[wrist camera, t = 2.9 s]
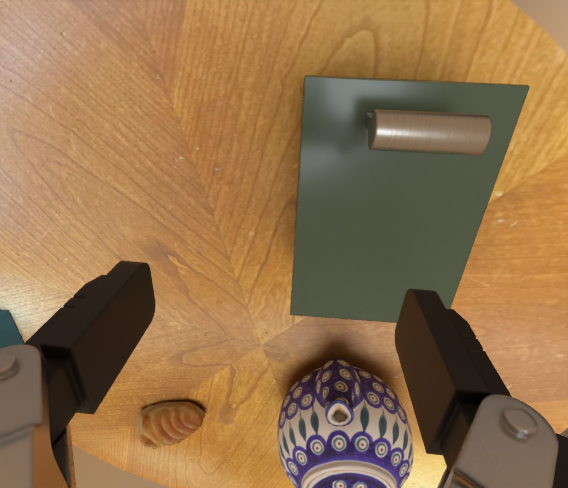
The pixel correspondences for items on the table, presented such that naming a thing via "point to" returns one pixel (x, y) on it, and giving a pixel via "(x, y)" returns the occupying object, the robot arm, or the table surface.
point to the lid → (393, 189)
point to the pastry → (168, 423)
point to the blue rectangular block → (8, 331)
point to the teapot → (344, 431)
